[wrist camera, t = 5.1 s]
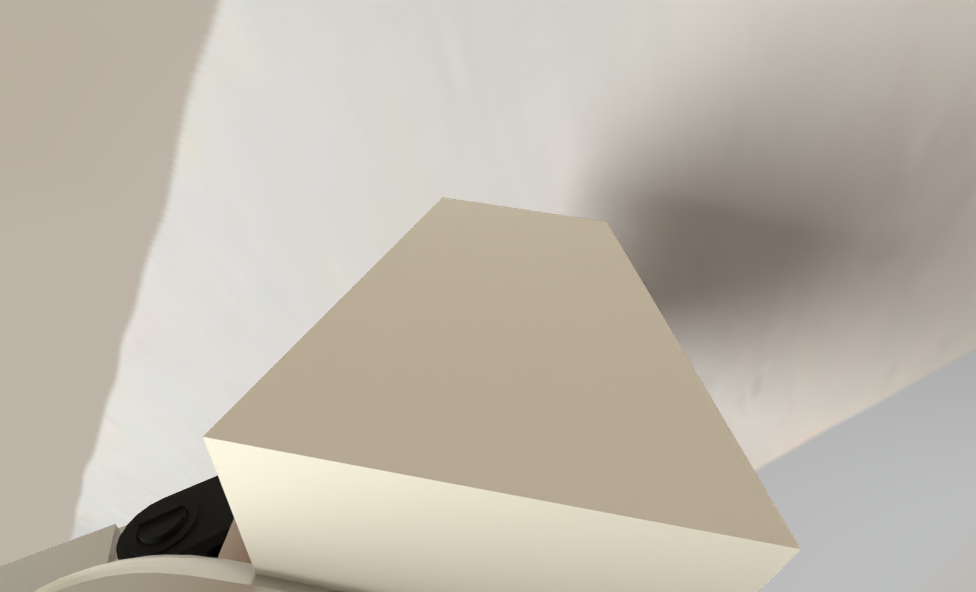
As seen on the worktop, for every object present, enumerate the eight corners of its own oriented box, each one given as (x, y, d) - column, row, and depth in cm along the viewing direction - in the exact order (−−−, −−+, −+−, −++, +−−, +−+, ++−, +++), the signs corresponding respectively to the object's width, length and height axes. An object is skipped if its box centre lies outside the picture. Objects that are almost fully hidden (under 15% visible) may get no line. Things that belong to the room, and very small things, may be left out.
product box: (607, 221, 11) (801, 548, 3) (543, 446, 16) (549, 798, 8) (436, 196, 11) (180, 433, 3) (425, 425, 16) (314, 745, 8)
